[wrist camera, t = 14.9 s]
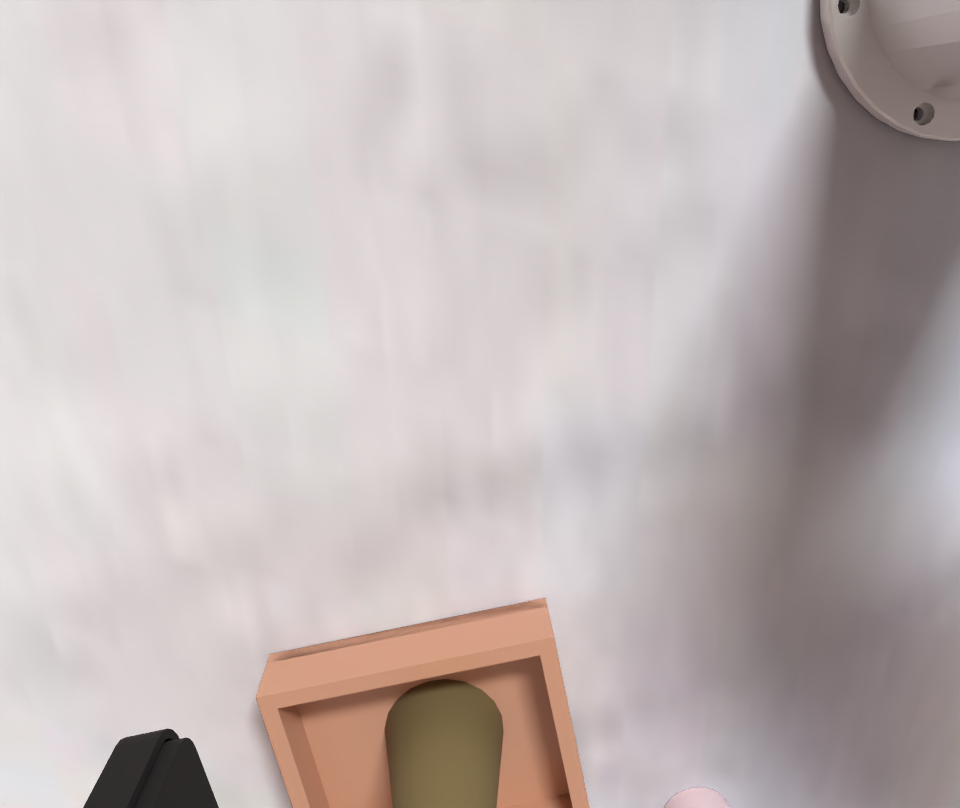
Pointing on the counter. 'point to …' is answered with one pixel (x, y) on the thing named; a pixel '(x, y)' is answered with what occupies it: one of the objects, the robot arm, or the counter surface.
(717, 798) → the smoothie
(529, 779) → the terracotta tray
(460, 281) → the counter surface
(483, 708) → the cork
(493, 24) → the counter surface
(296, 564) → the counter surface
